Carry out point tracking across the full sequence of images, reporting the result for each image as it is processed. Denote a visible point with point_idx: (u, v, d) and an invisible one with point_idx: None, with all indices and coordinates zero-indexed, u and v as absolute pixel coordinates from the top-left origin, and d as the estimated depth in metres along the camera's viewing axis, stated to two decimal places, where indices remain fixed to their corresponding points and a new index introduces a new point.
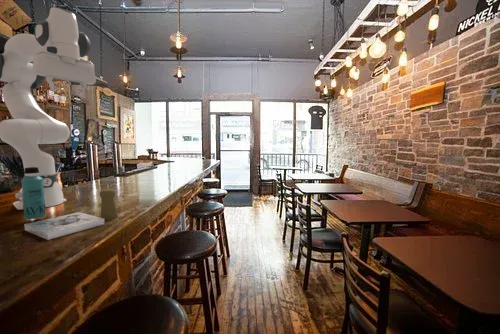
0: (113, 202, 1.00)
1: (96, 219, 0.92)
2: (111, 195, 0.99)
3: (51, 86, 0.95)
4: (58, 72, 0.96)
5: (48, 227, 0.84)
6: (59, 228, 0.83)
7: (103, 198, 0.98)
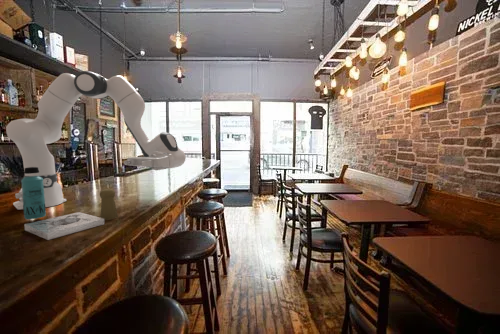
0: (113, 202, 1.00)
1: (96, 219, 0.92)
2: (111, 195, 0.99)
3: (144, 163, 1.08)
4: None
5: (48, 227, 0.84)
6: (59, 228, 0.83)
7: (103, 198, 0.98)
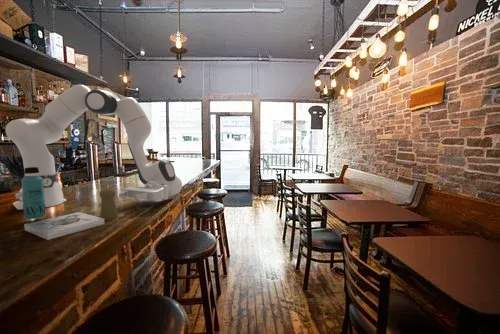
0: (113, 202, 1.00)
1: (96, 219, 0.92)
2: (111, 195, 0.98)
3: (139, 197, 1.07)
4: None
5: (48, 227, 0.84)
6: (59, 228, 0.83)
7: (103, 198, 0.98)
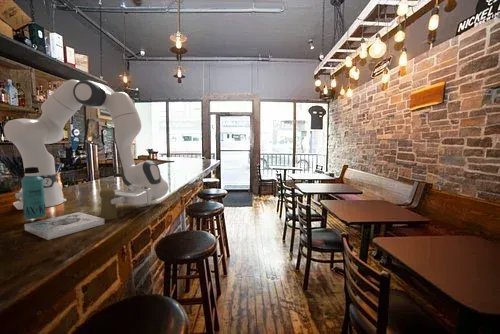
0: None
1: (96, 219, 0.92)
2: (111, 195, 0.99)
3: (114, 201, 0.99)
4: None
5: (48, 227, 0.84)
6: (59, 228, 0.83)
7: (103, 198, 0.98)
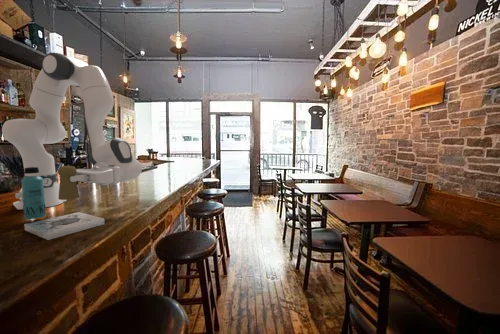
0: None
1: (96, 219, 0.92)
2: (71, 172, 0.88)
3: (74, 179, 0.88)
4: None
5: (48, 227, 0.84)
6: (59, 228, 0.83)
7: (62, 175, 0.87)
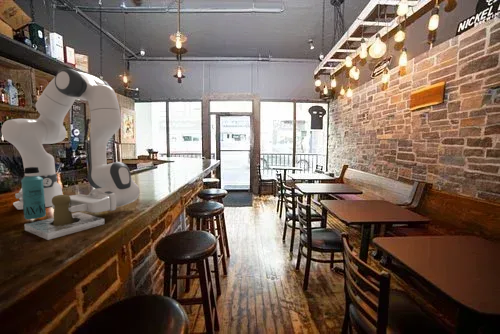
0: (68, 209, 0.90)
1: (96, 219, 0.92)
2: (65, 202, 0.88)
3: (74, 209, 0.87)
4: None
5: (48, 227, 0.84)
6: (59, 228, 0.83)
7: (55, 205, 0.87)
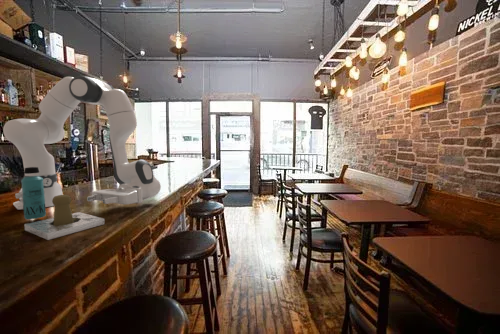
0: (68, 209, 0.90)
1: (96, 219, 0.92)
2: (65, 202, 0.88)
3: (108, 201, 0.98)
4: None
5: (48, 227, 0.84)
6: (59, 228, 0.83)
7: (56, 205, 0.88)
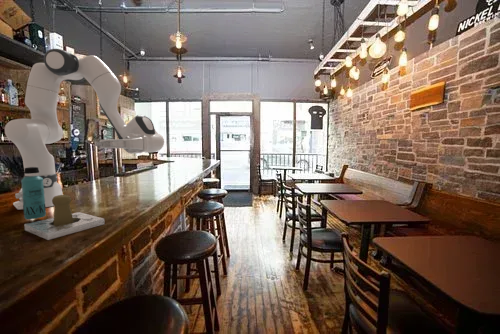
0: (68, 209, 0.90)
1: (96, 219, 0.92)
2: (65, 202, 0.88)
3: (115, 144, 1.02)
4: None
5: (48, 227, 0.84)
6: (59, 228, 0.83)
7: (56, 205, 0.87)
